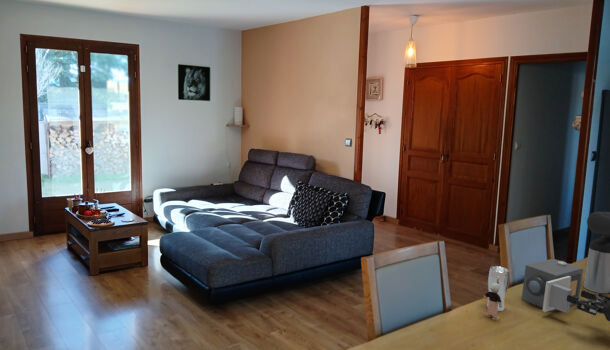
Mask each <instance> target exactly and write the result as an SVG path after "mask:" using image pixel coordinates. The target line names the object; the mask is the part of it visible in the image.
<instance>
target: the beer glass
mask: <svg viewBox="0 0 610 350" xmlns="http://www.w3.org/2000/svg"><path fill="white" fill-rule="evenodd" d="M493 283H498V284H499V286H500V287H499V291H498V292H497V294H498V295H499V296H500V298H501V301H502V302H501V303H502V307H501V308H500V307H499V304H498V310H497V312H503V311H505V299H506V298H505V297H506V295H507V292H508V289H509V285H510V284H509V283H510V269H509V268H506V267H503V266H499V265H494V266H493V265H492V266H490V268H489V273H488V278H487V287H488V292H492V291H491V289H489V287H490V285H491V284H493ZM488 304H489V299H488V301H487V303H486V308H488Z"/></svg>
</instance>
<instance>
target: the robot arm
mask: <svg viewBox="0 0 610 350" xmlns="http://www.w3.org/2000/svg"><path fill="white" fill-rule="evenodd" d="M586 224H587V227H588V228H589V230H590V231H591V232H592V233H594V234H598V235H601V236H600V237H598V238H596V239H593V240H590V243H589V248H588V255H587V261H586V270H585V275H584V281H583V288H584V289H586V290H588V291H586V290H580V297H581V298H580V297H579V298H576V297H574V296H571V295H567V301H568V302H570V303H573V305H576V309H577V310H579V311H582V312H585V313H587V314H590V315H592V316H597V314H602V315H604V318H605V319H606V321H607V322H610V296H608V295H606V294H609V293H610V211H594V212H592V213H590V214H589V215H588V217H587V219H586ZM593 292H594V293H593ZM582 298H584V299H582Z"/></svg>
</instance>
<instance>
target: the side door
mask: <svg viewBox="0 0 610 350" xmlns="http://www.w3.org/2000/svg"><path fill="white" fill-rule="evenodd" d="M570 281H571V276H566V277H562V278H559V279H555V280H551V281H548V282H546V287H545V295H544V303H543V308H542V312H543V313H547V312H551V311H550V310H553V309H557V310H556V311H560V312H563V313H569V312H570V309H571V305H570V302H568V301H567V295H571V296H572V290H571V289H570Z"/></svg>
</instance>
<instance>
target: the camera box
mask: <svg viewBox="0 0 610 350" xmlns="http://www.w3.org/2000/svg"><path fill="white" fill-rule="evenodd" d="M524 269H525V270H524V277H523V284H522V285H523V286H522V292H521V293H522V294H521V300H522V301H524V302H528V303H530V304H533V306H536V305H537V307H539V308H541V309H543V303H544V295H545V287H546V282H548V281H551V280H555V279H559V278H562V277H566V276H571V281H570V289H571V290H572V296H574V297H576V298H579V299H580V296H581V288H582V287H581V286H582V279H583V272H584V267H581V266H576V265H574V264H572V263H567V261H566V262H565V261H564V260H559V259H555V258H550V259H545V260H542V261H538V262H532V263H529V264H525V268H524ZM573 305H574V304H573V303H570V306H573ZM555 311H558V310H557V309H553V310H550V311H549V312H551V313H552V312H555Z"/></svg>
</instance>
